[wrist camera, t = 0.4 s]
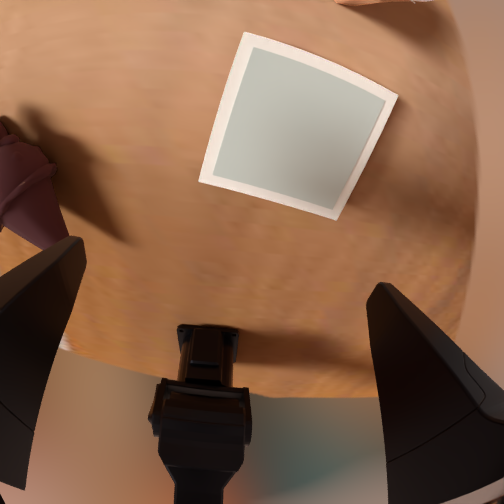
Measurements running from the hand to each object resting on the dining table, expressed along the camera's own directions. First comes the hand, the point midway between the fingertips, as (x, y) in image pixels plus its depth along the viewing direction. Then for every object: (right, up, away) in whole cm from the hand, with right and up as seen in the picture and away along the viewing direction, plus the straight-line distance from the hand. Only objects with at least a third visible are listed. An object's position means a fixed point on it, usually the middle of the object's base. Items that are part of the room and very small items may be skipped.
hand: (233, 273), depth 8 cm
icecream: (-16, +7, +11) cm, 21 cm away
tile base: (+3, +9, +9) cm, 13 cm away
